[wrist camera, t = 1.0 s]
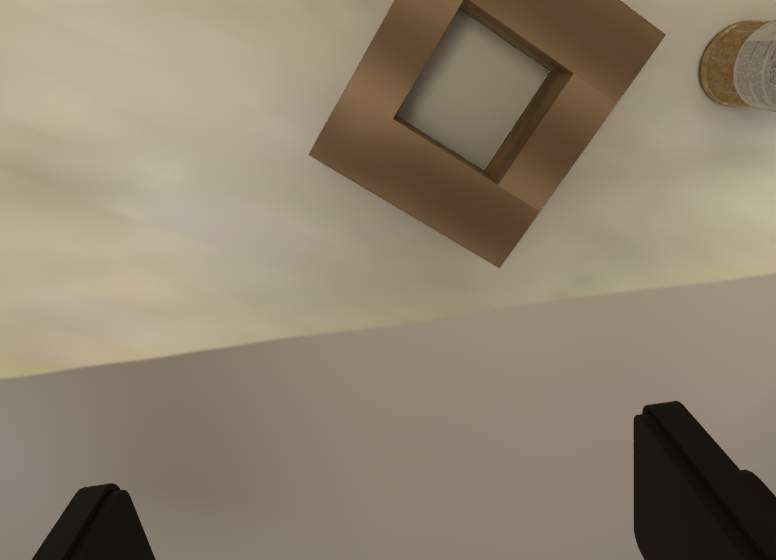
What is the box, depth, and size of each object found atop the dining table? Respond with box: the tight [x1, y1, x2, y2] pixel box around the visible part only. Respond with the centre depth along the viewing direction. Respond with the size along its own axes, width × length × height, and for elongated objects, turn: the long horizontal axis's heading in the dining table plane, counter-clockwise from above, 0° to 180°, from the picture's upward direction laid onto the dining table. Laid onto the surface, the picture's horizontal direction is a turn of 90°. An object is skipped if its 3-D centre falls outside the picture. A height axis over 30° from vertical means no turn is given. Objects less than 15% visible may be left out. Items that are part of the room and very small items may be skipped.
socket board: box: [309, 0, 666, 268], centre depth 31 cm, size 14×12×4 cm
